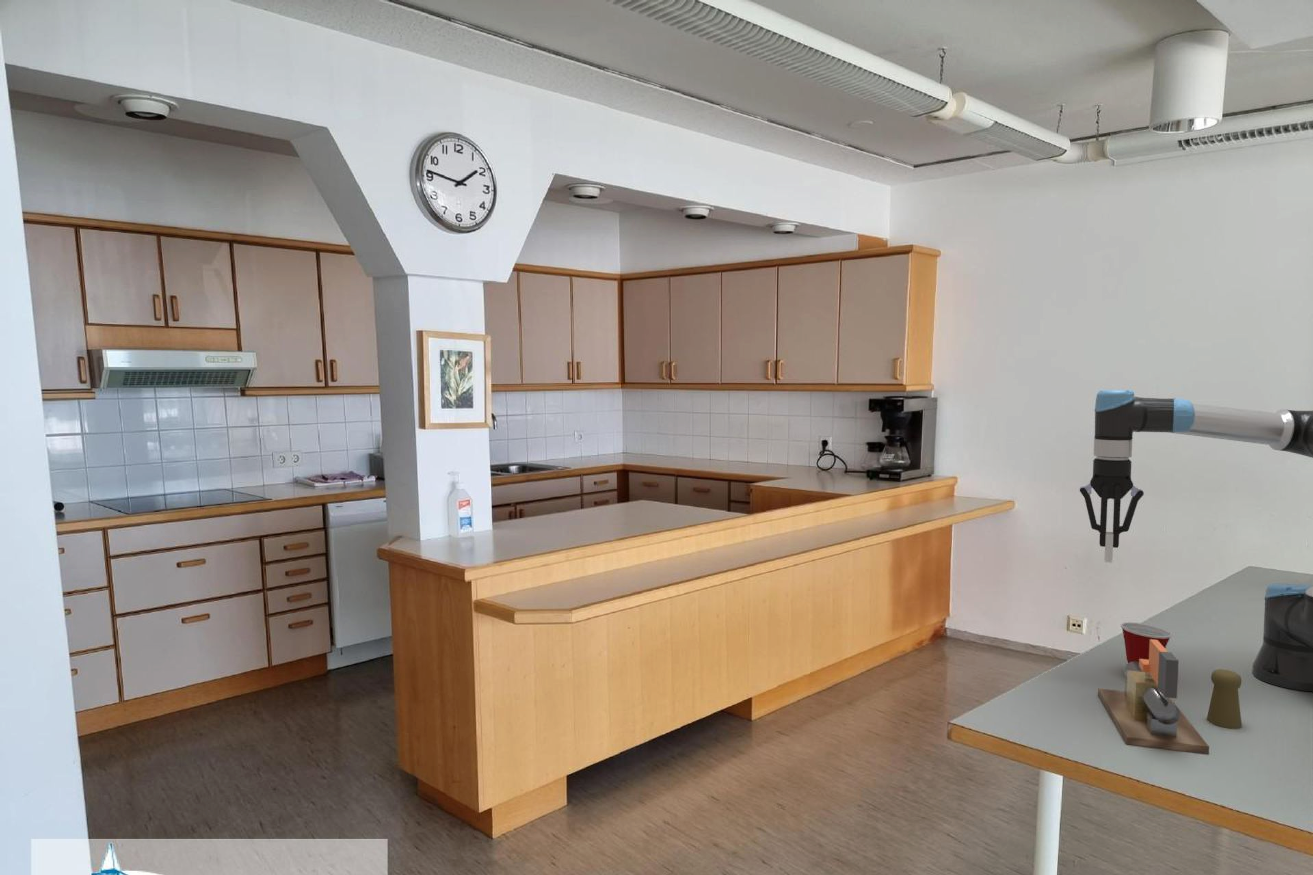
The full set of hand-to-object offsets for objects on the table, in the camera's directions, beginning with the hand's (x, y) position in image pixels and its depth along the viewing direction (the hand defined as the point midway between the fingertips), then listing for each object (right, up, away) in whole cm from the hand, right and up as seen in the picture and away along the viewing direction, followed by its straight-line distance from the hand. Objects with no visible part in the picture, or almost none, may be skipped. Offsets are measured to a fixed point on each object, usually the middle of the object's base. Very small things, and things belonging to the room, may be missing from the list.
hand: (1108, 560), depth 185 cm
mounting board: (0, -32, -15) cm, 35 cm away
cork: (+16, -32, -15) cm, 39 cm away
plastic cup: (+15, -30, +11) cm, 35 cm away
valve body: (0, -30, -15) cm, 34 cm away
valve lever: (-2, -22, -21) cm, 31 cm away
